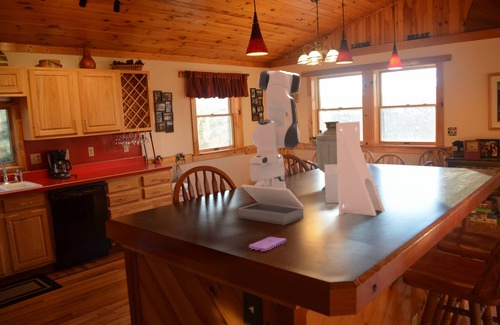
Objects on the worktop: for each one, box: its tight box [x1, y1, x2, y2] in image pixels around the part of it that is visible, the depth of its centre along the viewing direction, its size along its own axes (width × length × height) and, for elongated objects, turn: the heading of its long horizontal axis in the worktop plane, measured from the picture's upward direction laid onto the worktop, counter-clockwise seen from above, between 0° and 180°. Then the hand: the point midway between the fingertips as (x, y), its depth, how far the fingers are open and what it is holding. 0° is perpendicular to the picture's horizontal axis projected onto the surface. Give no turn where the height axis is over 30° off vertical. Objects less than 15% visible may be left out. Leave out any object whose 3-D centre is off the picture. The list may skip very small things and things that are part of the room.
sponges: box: [248, 236, 287, 252], centre depth 138 cm, size 7×13×2 cm, turn 142°
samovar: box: [309, 120, 341, 191], centre depth 239 cm, size 30×26×40 cm
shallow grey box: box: [236, 202, 304, 226], centre depth 177 cm, size 26×14×4 cm, turn 48°
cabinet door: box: [241, 184, 305, 209], centre depth 178 cm, size 26×14×2 cm
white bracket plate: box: [336, 121, 386, 217], centre depth 177 cm, size 20×14×40 cm
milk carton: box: [324, 164, 339, 204], centre depth 203 cm, size 7×7×19 cm
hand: (269, 188), depth 176 cm, fingers closed
